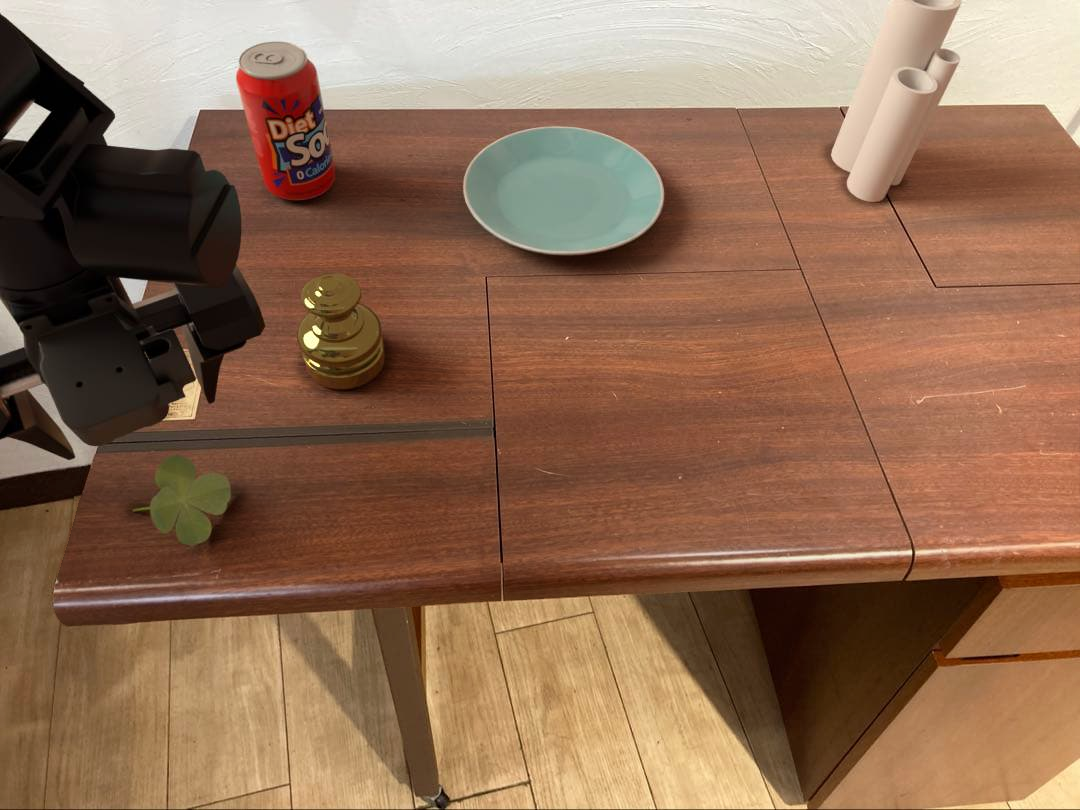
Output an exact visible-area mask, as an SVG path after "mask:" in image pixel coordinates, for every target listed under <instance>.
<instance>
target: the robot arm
mask: <svg viewBox="0 0 1080 810" xmlns="http://www.w3.org/2000/svg"><path fill="white" fill-rule="evenodd" d="M33 104H35V105H37V106H39V107H40V108H43V109H45V110H46V111H49V113H48V115H47V116H46V117H45V119H44V120H43V121H42V122H41V124H40V125H39V126H38V127H37V129H36V130H35V131H34V132H33V134H32V135H31V136H30V138H29V139H28V140H21V139H12V138H5V137H6V136H7V135H8V134H9V133H10V132H11V130H12V129H14V126H15V125H16V124H17V123H18V122H19V120H20V119H21V118H22V117H23V116H24V115H25V113H26V112H27V111H28V109H29V108H30V107H31V106H32V105H33ZM115 119H116V114H115V112H114V111H113V110H112V108H110V107H109V105H107V104H106V103H105V102H103V101H102V100H101V99H100V98H99V97H98V96H97V95H95V93H93V92H92V91H91V90H90V89H89V88H88V87H86V86H85V82H84V81H83V80H82V79H80V78H78V77H77V76H76V75H74V74H73V73H71V72H70V71H68V70H67V69H66V68H64V67H63V66H62V65H61V64H60V63H59V62H58V61H56V60H55V58H53V57H52V56H51V55H50V54H48V53H47V52H46V51H45V50H44V49H43V48H42V47H40V46H39V45H38V44H37V43H36V42H35V41H33V40H32V39H31V38H30V37H29V36H27V35H26V33H24V31H22V30H21V29H20V28H18V27H17V26H16V25H15V24H14V23H13V22H12V21H10V20H9V19H8V18H7V17H6V16H4V15H3V14H2V13H0V301H1V302H2V304H3V305H4V307H5V309H6V310H7V311H8V313H9V314H10V316H11V317H12V319H13V320H14V322H15V324H16V325H17V326H18V328H19V330H20V332H21V333H22V336H23V345H24V346H23V347H20V348H17V349H14V350H11V351H8V352H5V353H3V354H0V441H1V440H3V439H6V438H9V439H13V440H15V441H16V440H17V441H20V442H23V443H27V444H29V445H31V446H34V447H37V448H39V449H40V450H43V451H46V452H49V453H51V454H52V455H54V456H55V455H56V456H57V457H60V458H62V459H65V460H66V461H71V460H74V459H75V458H76V455H75V452H74V449H73V447H72V444H71V443H70V441H69V440H68V438H67V436H66V435H65V433H64V432H63V430H62V429H61V428H60V426H59V425H58V424H57V423H56V421H55V420H54V419H53V418H52V417H51V415H49V413H48V412H47V410H45V408H44V407H43V406H42V405H41V404H40V402H39V401H38V400H37V399H36V398H35V396H34V395H33V394H32V393H31V391H30V390H31V389H33V388H35V387H38V386H42V385H45V387H46V388H47V389H48V391H49V394H50V396H51V399H52V400H53V403H54V406H55V407H56V410H57V412H58V414H59V417H60V419H61V421H62V422H63V424H64V425H65V426H66V427H67V428H68V429H69V430H71V432H72V433H73V434H74V435H75V436H76V437H77V438H79V439H80V441H81V442H82V443H83V444H85V445H87V446H90V447H100V446H101V447H102V446H105V445H107V444H109V443H112V442H113V441H115V440H117V439H119V438H121V437H124V436H126V435H129V434H131V433H133V432H134V433H135V432H137V431H138V430H139V431H140V430H141V429H144V428H147V427H153V426H154V425H157V424H160V423H162V421H164V420H165V419H166V417H168V414H169V412H170V404H172V403H174V402H177V401H179V400H182V399H185V398H187V395H186V394H185V392H184V388H185V386H187V385H189V384H192V383H194V382H196V381H197V383H198V384H199V387H200V388H201V391H202V393H203V395H204V397H205V399H206V402H207V403H208V405H212V404H214V403H215V401H216V397H217V396H216V395H217V389H218V382H219V376H220V375H219V374H220V369H221V365H222V362H223V359H224V357H225V355H227V354H229V353H232V352H234V351H237V350H239V349H242V348H243V347H245V346H246V344H247V341H248V340H249V341H250V340H251V339H254V338H257V337H259V336H261V335H262V333H263V331H264V330H265V328H266V323H265V320H264V318H263V317H264V316H263V313H262V311H261V307H260V305H259V303H258V301H257V298H256V297H255V295H254V293H253V291H252V289H251V288H250V286H249V284H248V282H247V281H246V279H245V277H244V275H243V273H242V272H241V270H240V269H239V267H238V265H237V262H238V259H239V255H240V250H241V242H242V213H241V204H240V200H239V196H238V192H237V189H236V186H235V185H234V184H231V183H230V182H229V180H228V178H227V177H226V175H225V174H223V172H221V171H220V170H217V169H212V168H205V165H204V163H203V160H202V157H201V155H200V153H198V152H197V150H193V149H192V150H191V149H183V148H164V149H146V148H136V147H127V146H118V145H117V146H116V145H109V144H108V143H107V140H106V138H105V136H104V134H105V133H106V131H108V129H109V127H110V126H111V125H112V124H113V122H114V120H115ZM121 279H127V280H139V281H146V282H156V283H166V284H167V283H168V284H172V286H173V289H171V290H169V291H165V292H163V293H159V294H157V295H154V296H151V297H148V298H146V299H142V300H139V301H136V302H134V303H132V300H131V298H130V296H129V295H128V291H126V289H125V287H124V284H123V282H122V280H121ZM180 327H181V330H182V332H183V337H184V340H185V343H186V347H187V350H188V353H189V357H190V360H191V364H192V366H191V364H190V361H189V359H188V357H187V354H186V353H185V351H184V348H183V346H182V344H181V342H180V340H179V338H178V336H177V334H176V331H175V329H178V328H180ZM192 367H193V368H192Z"/></svg>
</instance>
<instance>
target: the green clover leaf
mask: <svg viewBox="0 0 1080 810" xmlns="http://www.w3.org/2000/svg"><path fill="white" fill-rule="evenodd" d="M196 474H197V469H196V465H195V463H194V462H193V461H192V460H191V459H188V458H187V457H185V456H184V455H180V454H174V455H171V456H169V457H167V458H165V459H164V460H163V461H162V462H161V463H160V464H159V465H158V467H157V468H156V471H155V474H154V483H155V484H156V486H157V487H158V488H159V492H158V493H156V495H154V496H153V497H152V498H151V501H150V505H149V506H148V507H147V506H146V507H138V508H134V509H132V513H135V512H140V511H141V512H142V511H149V513H150V518H151V521H152V524H153V525H154V526H155V528H156V529H157V531H159V532H160V533H162V534H168V533H170V531H172V530H173V528H174V526H175V534H176V538H177V540H178V541H179V542H180V543H181V544H183V545H186V546H189V547H194V546H197V545H198V544H202V543H204V542H206V541H207V540H208V539H209V537H210V535H211V534H212V531H213V530H212V523H211V520H210V518H209V517H208V516H207V515H206V514H207V513H208V514H209V515H213V516H219V515H222V514H224V513H225V512H226V510H227V509H228V503H229V502H230V501H231V499H232V492H231V491H232V490H231V488H232V487H231V484H230V480H229V478H228V477H227V476H225V475H224V474H222V473H219V472H216V471H215V472H208V473H205V474H202V475H199V476H198V477H197V478H196ZM203 512H204V513H203ZM205 513H206V514H205Z"/></svg>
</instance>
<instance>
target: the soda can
mask: <svg viewBox="0 0 1080 810" xmlns="http://www.w3.org/2000/svg"><path fill="white" fill-rule="evenodd" d="M238 65H239V66H238V69H237V72H236V74H235V81H236V85H237V89H238V93H239V96H240V99H241V103H242V108H243V111H244V114H245V115H244V116H245V119H246V122H247V125H248V130H249V133H250V138H251V141H252V143H253V144H252V145H253V148H254V151H255V155H256V160H257V162H258V163H257V164H258V166H259V170H260V174H261V177H262V181H263V185H264V187H265V188H266V189H267V191H268V192H269V193H270V194H272V195H274V196H275V197H277V198H280V199H282V200H283V199H284V200H289V201H306V200H310V199H313V198H316V197H319V196H320V195H323V194H324V193H326V192H327V191H328V190H329V189H330V188H332V186H333V184H334V182H335V181H336V167H335V162H334V156H333V152H332V146H331V140H330V135H329V129H328V123H327V117H326V112H325V107H324V103H323V102H324V101H323V95H322V91H321V86H320V80H319V75H318V70H317V68H316V66H315V64H314V63H313V62H312V61H311V60H310V59H309V58H308V54H307V53H306V51H305V49H303V48H302V47H300V46H299V45H297V44H295V43H291V42H289V41H265V42H261V43H257V44H255V45H252V46H250V47H248V48H246V49H245V50H244V51H243V52H242V53H241V54H240V56H239V59H238Z"/></svg>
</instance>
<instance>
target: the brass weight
mask: <svg viewBox="0 0 1080 810" xmlns="http://www.w3.org/2000/svg"><path fill="white" fill-rule="evenodd" d="M300 296H301V297H300V298H301V299H300V300H301V304H302V305H303V307H304V309H305V310H306V311H308V312H306V314H305V315H304V316H303V317H302V319H301V320H300V322H299V324H298V327H297V329H296V330H297V331H296V339H297V340H296V341H297V343H298V346H299V348H300V349H301V350H300V352H301V353H300V354H301V357H302V360H303V362H304V366H305V368H306V371H307V373H308V375H309V377H310V378H311V379H312V380H313V381H314V382H316V383H317V384H319V385H321V386H323V387H326V388H328V389H333V390H350V389H351V390H352V389H356V388H359V387H361V386H363V385H366V384H368V383H369V382H371V381H372V380H373V379H375V378H376V377H377V375H378V374H380V372H381V371H382V369H383V367H384V364H385V360H386V354H385V347H384V345H385V343H384V342H385V341H384V337H383V334H382V325H381V320H380V319H379V317H378V316H377V314H376V313H375V312H374V311H373V310H372V309H371V308H370V307H368V306H367V305H365V304H362V303H360V301H361V298H362V290H361V287H360V285H359V283H358V282H357V280H356V279H354V278H353V277H351V276H350V275H348V274H346V273H345V274H344V273H340V272H327V273H322V274H319V275H316V276H313V278H311V279H310V280H309V281H307V282H306V283H305V284H304V286H303V287H302V290H301V293H300Z"/></svg>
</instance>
